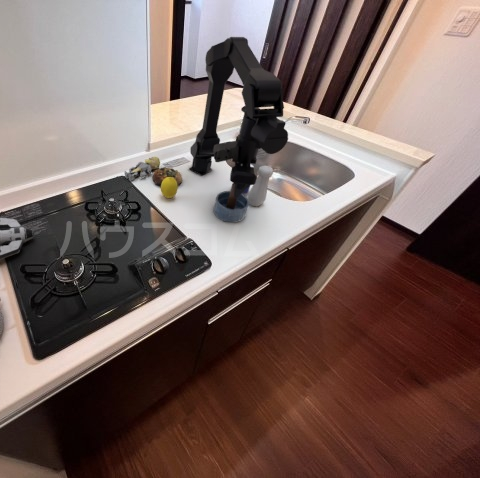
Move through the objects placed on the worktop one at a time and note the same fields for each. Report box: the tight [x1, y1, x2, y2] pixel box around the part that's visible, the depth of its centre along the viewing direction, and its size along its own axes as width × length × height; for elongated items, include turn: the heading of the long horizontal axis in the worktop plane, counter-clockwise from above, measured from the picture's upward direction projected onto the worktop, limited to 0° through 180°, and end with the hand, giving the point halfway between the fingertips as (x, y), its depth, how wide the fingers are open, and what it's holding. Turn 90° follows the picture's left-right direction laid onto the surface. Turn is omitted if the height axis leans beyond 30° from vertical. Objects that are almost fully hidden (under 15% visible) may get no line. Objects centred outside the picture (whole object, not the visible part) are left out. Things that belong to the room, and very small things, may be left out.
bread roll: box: [152, 166, 183, 187], centre depth 94 cm, size 11×11×5 cm
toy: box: [124, 156, 161, 182], centre depth 97 cm, size 8×5×15 cm
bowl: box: [213, 190, 250, 223], centre depth 81 cm, size 10×10×5 cm
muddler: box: [226, 182, 238, 210], centre depth 79 cm, size 4×4×10 cm
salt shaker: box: [247, 165, 274, 207], centre depth 82 cm, size 6×6×13 cm
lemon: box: [160, 177, 179, 199], centre depth 85 cm, size 6×6×8 cm
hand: (235, 188), depth 76 cm, fingers open, 9 cm apart
